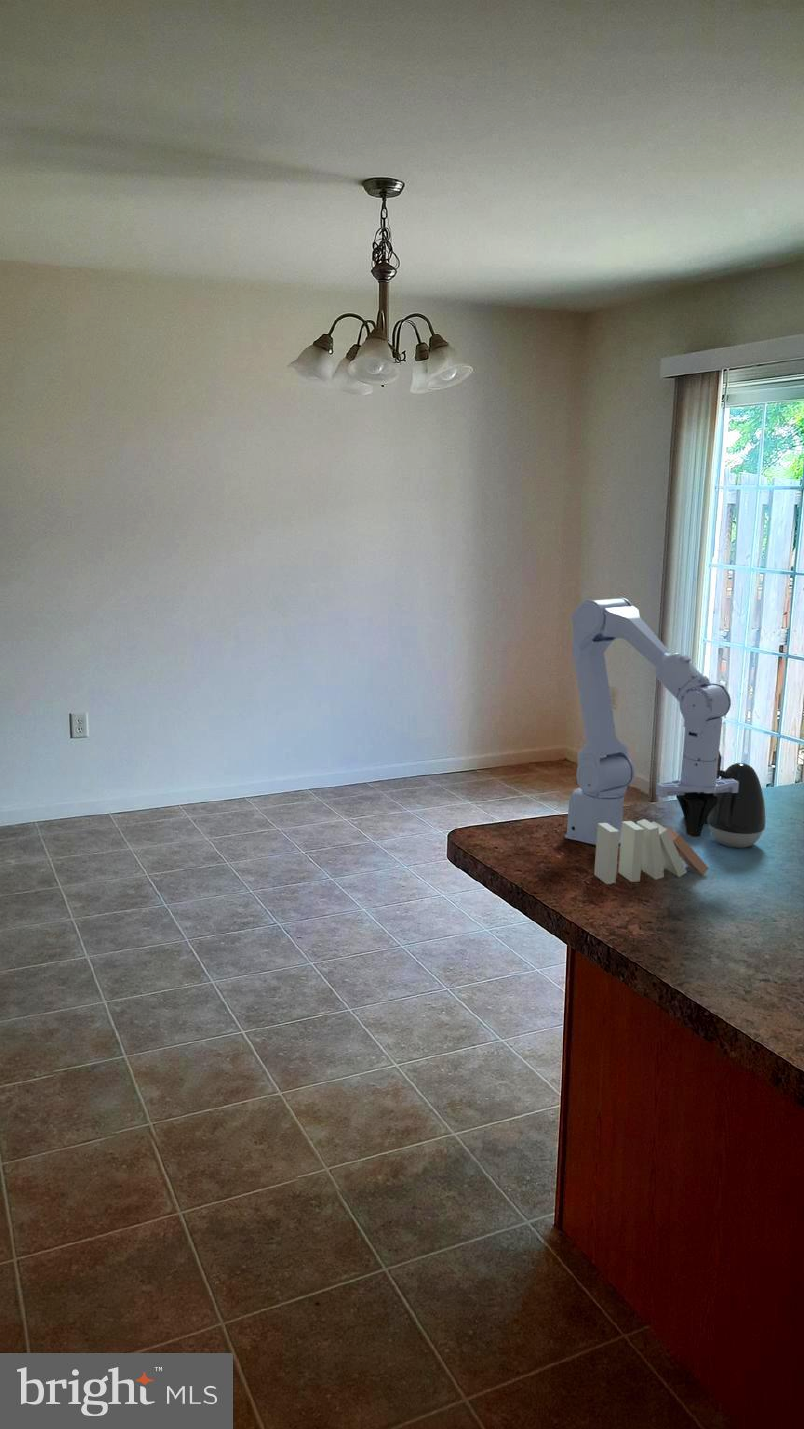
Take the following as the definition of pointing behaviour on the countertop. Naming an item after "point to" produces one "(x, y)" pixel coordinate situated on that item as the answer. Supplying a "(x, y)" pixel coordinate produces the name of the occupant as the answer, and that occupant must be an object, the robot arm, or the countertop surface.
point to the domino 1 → (606, 853)
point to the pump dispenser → (738, 809)
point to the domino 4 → (670, 852)
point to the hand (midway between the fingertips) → (693, 835)
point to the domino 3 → (651, 850)
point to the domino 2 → (631, 851)
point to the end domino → (687, 853)
